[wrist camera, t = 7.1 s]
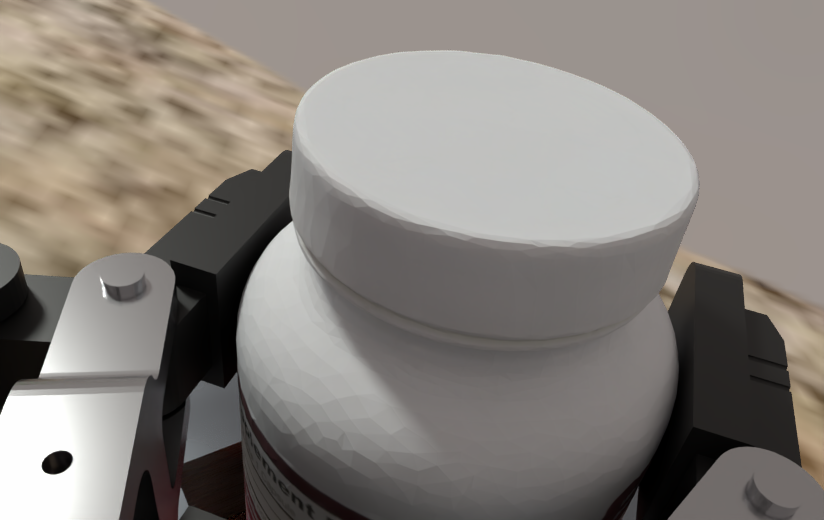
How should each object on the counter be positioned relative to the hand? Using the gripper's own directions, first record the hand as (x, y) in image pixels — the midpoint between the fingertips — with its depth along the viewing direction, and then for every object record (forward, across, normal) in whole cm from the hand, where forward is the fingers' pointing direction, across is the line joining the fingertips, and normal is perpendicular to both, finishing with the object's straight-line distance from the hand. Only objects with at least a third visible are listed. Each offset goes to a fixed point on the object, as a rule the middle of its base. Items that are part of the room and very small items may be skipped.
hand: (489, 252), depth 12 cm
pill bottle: (-2, 0, +8) cm, 8 cm away
